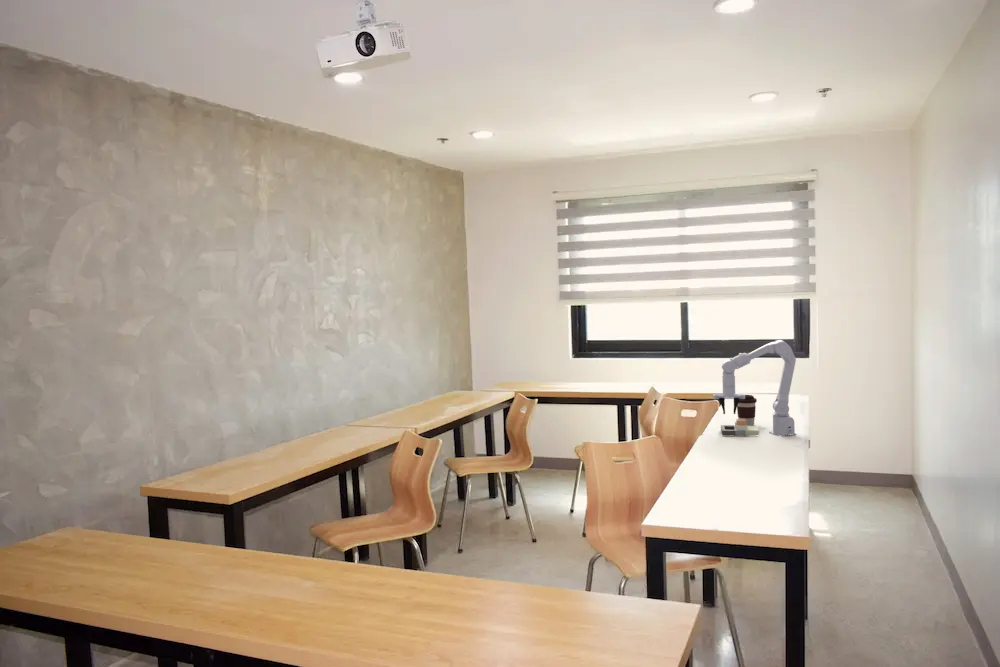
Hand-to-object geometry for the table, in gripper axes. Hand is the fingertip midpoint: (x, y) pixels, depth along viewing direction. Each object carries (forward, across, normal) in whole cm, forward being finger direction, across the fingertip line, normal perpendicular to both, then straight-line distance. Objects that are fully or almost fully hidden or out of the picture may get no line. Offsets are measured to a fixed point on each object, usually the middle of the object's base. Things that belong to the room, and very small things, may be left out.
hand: (729, 413), depth 353 cm
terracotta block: (+7, +5, 0) cm, 9 cm away
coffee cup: (+10, +9, +19) cm, 23 cm away
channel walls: (+7, +5, 0) cm, 9 cm away
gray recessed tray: (+9, +2, 0) cm, 10 cm away
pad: (+9, +10, 0) cm, 14 cm away
